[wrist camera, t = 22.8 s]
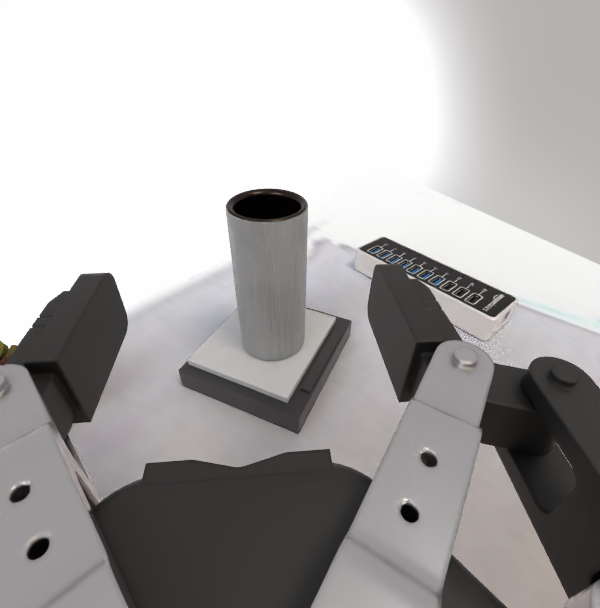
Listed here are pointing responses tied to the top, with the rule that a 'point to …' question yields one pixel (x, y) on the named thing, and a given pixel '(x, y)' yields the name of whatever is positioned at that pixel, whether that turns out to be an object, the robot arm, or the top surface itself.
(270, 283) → the grey hollow cylinder
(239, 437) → the top surface
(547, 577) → the top surface
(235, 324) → the scale
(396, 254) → the multiport hub
